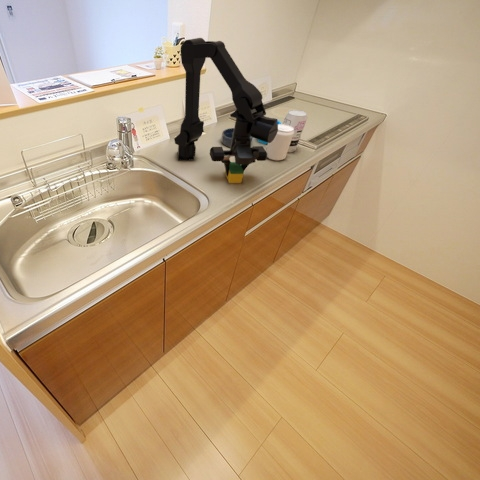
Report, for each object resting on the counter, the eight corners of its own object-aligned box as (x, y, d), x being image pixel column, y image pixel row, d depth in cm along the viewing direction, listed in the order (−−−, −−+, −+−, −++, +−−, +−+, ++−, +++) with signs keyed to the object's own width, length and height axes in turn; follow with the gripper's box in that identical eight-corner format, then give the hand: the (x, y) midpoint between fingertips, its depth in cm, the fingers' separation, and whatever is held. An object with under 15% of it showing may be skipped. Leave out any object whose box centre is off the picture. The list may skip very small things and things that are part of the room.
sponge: (241, 182, 98) (243, 171, 95) (228, 183, 98) (231, 171, 95) (236, 172, 103) (239, 162, 100) (225, 173, 103) (227, 162, 100)
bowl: (224, 149, 118) (225, 140, 115) (218, 136, 127) (219, 128, 125) (254, 149, 118) (256, 140, 115) (246, 136, 128) (248, 127, 125)
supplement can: (279, 143, 122) (290, 107, 112) (298, 148, 118) (311, 112, 108) (272, 149, 118) (283, 113, 107) (291, 155, 114) (304, 118, 104)
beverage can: (289, 159, 111) (299, 130, 103) (273, 163, 109) (282, 133, 101) (276, 151, 117) (285, 122, 108) (260, 154, 115) (268, 125, 106)
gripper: (218, 144, 83) (211, 187, 94) (278, 143, 84) (265, 187, 95) (212, 129, 91) (206, 171, 102) (267, 129, 92) (256, 170, 103)
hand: (233, 175), depth 100 cm, fingers closed on sponge, 4 cm apart
